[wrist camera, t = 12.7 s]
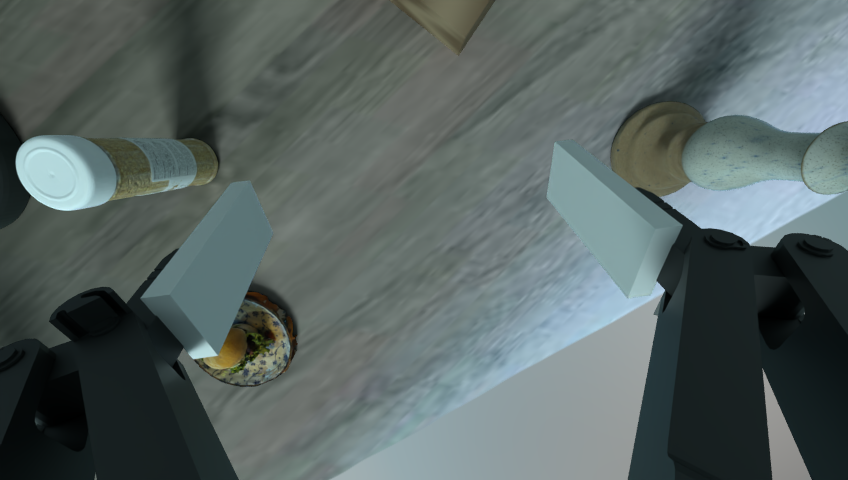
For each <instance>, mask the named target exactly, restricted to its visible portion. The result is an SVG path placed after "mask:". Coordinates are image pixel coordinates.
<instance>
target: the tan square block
mask: <svg viewBox="0 0 848 480" xmlns="http://www.w3.org/2000/svg"><path fill="white" fill-rule="evenodd" d="M390 1H391V2H392V3H393V4H395V5H396V6H397V7H398V8H400V9H401V10H402V11H403V12H405V13H406V14H407V15H408V16H410V17H411V18H412V19H413V20H415V21H416V22H417V23H418V24H420V25H421V26H422V27H423V28H425V29H426V30H427V31H428V32H429V33H431V34H432V35H433V36H434V37H436V38H437V39H438V40H439V41H441V42H442V43H443V44H444V45H446V46H447V47H448V48H449V49H451V50H452V51H453V52H454V53H456V54H457V55H458V56H459V54H460V53H461V51H462V50H463V48H464V47H465V45H466V44H467V42H468V41H469V39H470V38H471V36H472V35H473V33H474V32H475V30H476V29H477V27H478V26H479V24H480V23H481V21H482V20H483V18H484V17H485V15H486V14H487V12H488V11H489V9H490V8H491V6H492V5H493V3H494V1H495V0H390Z"/></svg>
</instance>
